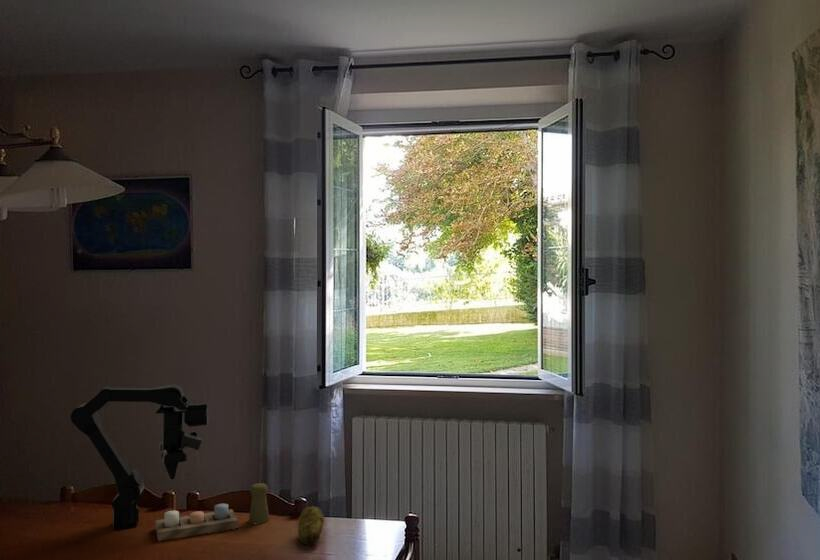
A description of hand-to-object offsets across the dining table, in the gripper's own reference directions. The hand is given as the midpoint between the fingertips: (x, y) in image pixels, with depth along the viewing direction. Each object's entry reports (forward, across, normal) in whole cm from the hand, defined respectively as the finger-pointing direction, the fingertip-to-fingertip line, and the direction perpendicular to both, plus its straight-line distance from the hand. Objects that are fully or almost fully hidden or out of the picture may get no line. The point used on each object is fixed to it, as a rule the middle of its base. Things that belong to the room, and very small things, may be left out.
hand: (172, 478), depth 197 cm
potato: (+13, -30, -34) cm, 47 cm away
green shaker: (+13, -10, -24) cm, 29 cm away
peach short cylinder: (+12, -9, -6) cm, 16 cm away
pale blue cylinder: (+11, -9, -13) cm, 19 cm away
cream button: (+11, -9, +1) cm, 14 cm away
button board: (+13, -9, -6) cm, 17 cm away
